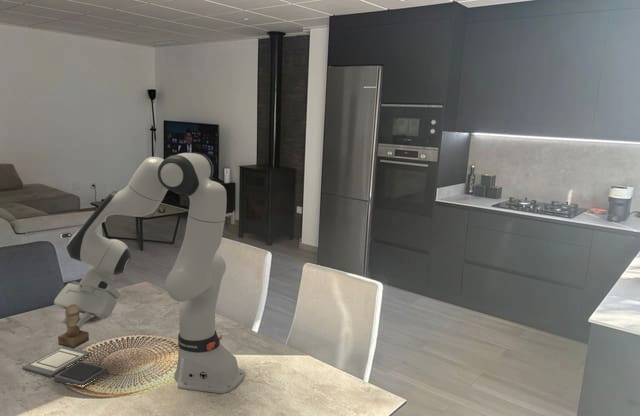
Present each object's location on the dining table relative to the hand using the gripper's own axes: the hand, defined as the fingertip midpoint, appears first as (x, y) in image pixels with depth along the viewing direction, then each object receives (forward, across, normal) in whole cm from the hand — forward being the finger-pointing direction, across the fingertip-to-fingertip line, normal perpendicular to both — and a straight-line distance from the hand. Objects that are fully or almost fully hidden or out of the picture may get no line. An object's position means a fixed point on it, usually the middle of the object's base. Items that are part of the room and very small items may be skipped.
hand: (71, 325), depth 145 cm
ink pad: (+12, +3, +12) cm, 17 cm away
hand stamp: (+4, 0, +5) cm, 6 cm away
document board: (+9, -11, +15) cm, 21 cm away
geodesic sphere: (-13, -30, +37) cm, 49 cm away
